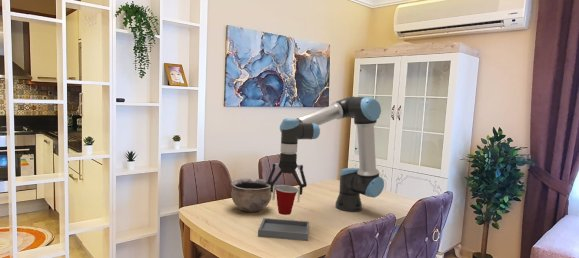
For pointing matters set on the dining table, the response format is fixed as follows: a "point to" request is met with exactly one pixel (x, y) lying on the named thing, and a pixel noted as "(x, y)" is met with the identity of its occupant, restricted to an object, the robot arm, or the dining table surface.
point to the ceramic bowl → (251, 194)
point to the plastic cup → (285, 198)
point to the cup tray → (284, 229)
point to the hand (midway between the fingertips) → (285, 200)
